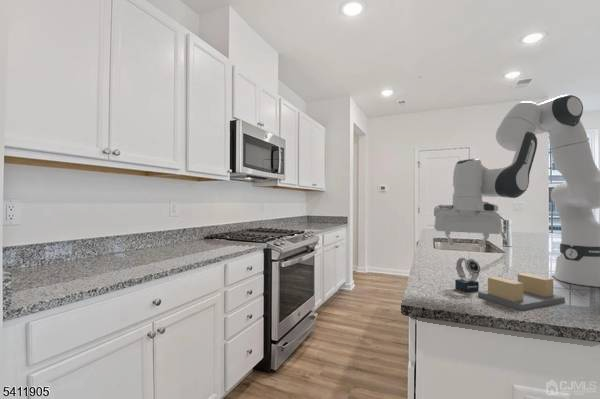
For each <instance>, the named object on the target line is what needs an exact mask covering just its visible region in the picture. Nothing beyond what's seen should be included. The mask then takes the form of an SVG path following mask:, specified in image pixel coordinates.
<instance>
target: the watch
mask: <svg viewBox="0 0 600 399" xmlns="http://www.w3.org/2000/svg"><path fill="white" fill-rule="evenodd" d="M463 262H464V267H465V269H466V271H467V272H468V273H469V276H470V278H467V277H466V273H465V272H464V267H463V266H462V264H463ZM455 270H456V274H457V276H458V278H457V279H454V282H455V285H454V286H455V288H456V290H459V291H460V290H461V292H463V291H464V293H471V291H474V292H480V289H479V287H480V286H479V281H476V280H477V279H478V278H479V276H480V273H481V266H480V263H479V262H478V261H476V260H475V259H473V258H471V257H465V256H464V257H460V258H458V259H457V261H456V264H455Z"/></svg>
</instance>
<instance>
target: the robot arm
mask: <svg viewBox="0 0 600 399" xmlns="http://www.w3.org/2000/svg"><path fill="white" fill-rule="evenodd" d="M583 112H584V106H583V102H582V101H581V99H580V98H579V97H578V96H576V95H574V94H564V95H560V96H557V97H555V98H552V99H549V100H546V101H544V102H541V103H539V104H538V103H536V102H533V101H528V100H527V101H520V102H519V103H518V102H517V103H516V104H515V105H514V106H513V107H512V108H511V109H510V110H509V111H508V113H507V114H506V115H505V116H504V118H503V119H502V121H501V122H500V125H498V128H497V130H496V133H495V140H496V143H498V144H499V146H501V148H503V149H505V150H508V151H510V152H514V156H513V158H512V161H511V164H510V165H507V166H504V167H501V168H492V169H490V168H487V167H485V166H484V165H483V164H482V160H481V158H468V159H461V160H458V161H457V162H456V163H455V165H454V169H453V175H452V186H453V189H454V190H453V194H452V204H445V205H444V204H438V205H437V206H435V207H434V208H433V216H434V217H435V218H434V219H435V220H434V228H433V229H434V230H435V231H436V232H444V234H445V236H446V238H447V239H448V241H447V243H448V245H450V246H451V245H452V246H454V239H452V238H451V237H450V235H451V233H452V232H453V233H468V234H469V233H470V234H482V236H483V238H482V239H481V240H478V246H479V247H482V248H485V247H486V242H487V240H488V239H489V238H490V234H491V235H493V234H494V235H499V234H501V233H502V231H503V226H502V225H503V224H502V219H501V215H500V214H499V213H498V211H499V206H498V205H497V204H494V203H491V202H488V201H483V197H485V198H486V197H489V198H501V197H502V198H509V199H510V198H512V199H515V198H519V197H520V196H522V195H523V194H524V193H526V191H527V189H528V187H529V184H530V173H531V170H532V166H533V163H534V159H535V156H536V152H537V149H538V148H537V147H538V138H537V136H536V135H539V134H544V133H548V139H549V140H548V141H549V147H550V152H551V155H552V156H551V157H552V159H553V164H554V165H553V166H554V167H555V170H556V171H557V172H558V173H560V175H562V177H563V179H564V182H562V183H560V184H557V185H555V187H553V188H552V190H551V191H550V199H551V201H552V203H553V204H554V205H555V207H556V210H557V213H558V217H559V220H560V226H561V227H560V228H561V233H560V234H561V236H560V237H561V238H560V239H561V240H560V241H561V243H560V244H559V253H560V254H559V255H558V256H557V257H556V260H555V269H554V273H551V277H553V278H555V279H556V280H558V281H561V282H565V283H569V284H573V285H580V286H585V287H598V288H600V223H599V221H598V220H597V219H596V218H595V215H594V213H593V210H595V209H596V210H597V209H600V170H599V168H598V167H597V165H596V163H595V160H594V157H593V153H592V149H591V146H590V141H589V137H588V135H587V131H586V129H585V127H584V125H583V123H582V121H581V118H582V116H583Z"/></svg>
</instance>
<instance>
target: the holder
mask: <svg viewBox="0 0 600 399" xmlns="http://www.w3.org/2000/svg"><path fill="white" fill-rule="evenodd" d="M477 293H478V294H477V297H479V298H482V299H484V300H489V301H491V302H495V303H497V304H501V305H503V306H507V307H510V308H513V309H516V310H519V311H524V310H530V309H531V310H532V309H536V308H541V307H542V308H543V307H546V306H547V307H548V306H553V305H558V304H563V303H565V302H566V298H565V296H561V295H558V294H557V295H556V294H554V279H553V278H549V277H546V276H541V275H536V274H531V273H526V272H525V273H523V272H522V273H518V274H517V280H512V279H507V278H503V277H499V276H491V277H487V290H479V291H477Z"/></svg>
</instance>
